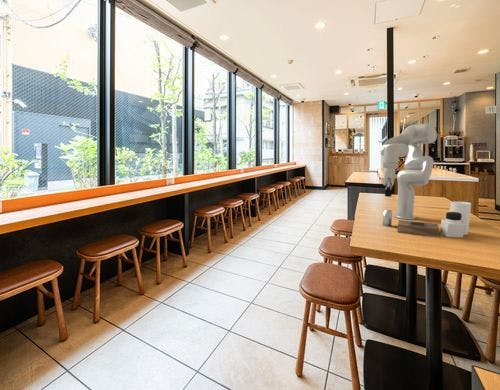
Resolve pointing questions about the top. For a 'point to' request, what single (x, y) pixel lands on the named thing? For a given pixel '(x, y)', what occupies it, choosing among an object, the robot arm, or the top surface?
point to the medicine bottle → (452, 225)
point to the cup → (463, 209)
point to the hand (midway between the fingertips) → (388, 195)
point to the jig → (418, 228)
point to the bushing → (387, 218)
